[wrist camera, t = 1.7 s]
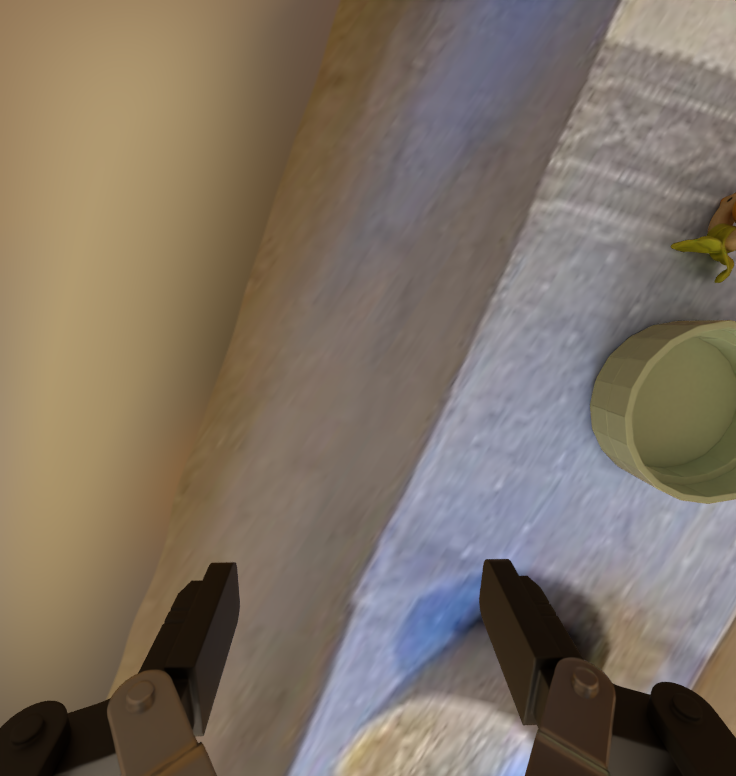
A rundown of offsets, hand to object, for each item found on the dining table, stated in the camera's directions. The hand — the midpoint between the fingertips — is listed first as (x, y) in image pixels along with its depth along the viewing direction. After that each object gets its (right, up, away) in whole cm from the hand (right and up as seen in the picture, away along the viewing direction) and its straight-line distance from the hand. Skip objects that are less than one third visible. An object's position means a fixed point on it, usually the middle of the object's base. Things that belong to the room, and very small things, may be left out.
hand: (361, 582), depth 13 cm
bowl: (+29, +5, +27) cm, 40 cm away
